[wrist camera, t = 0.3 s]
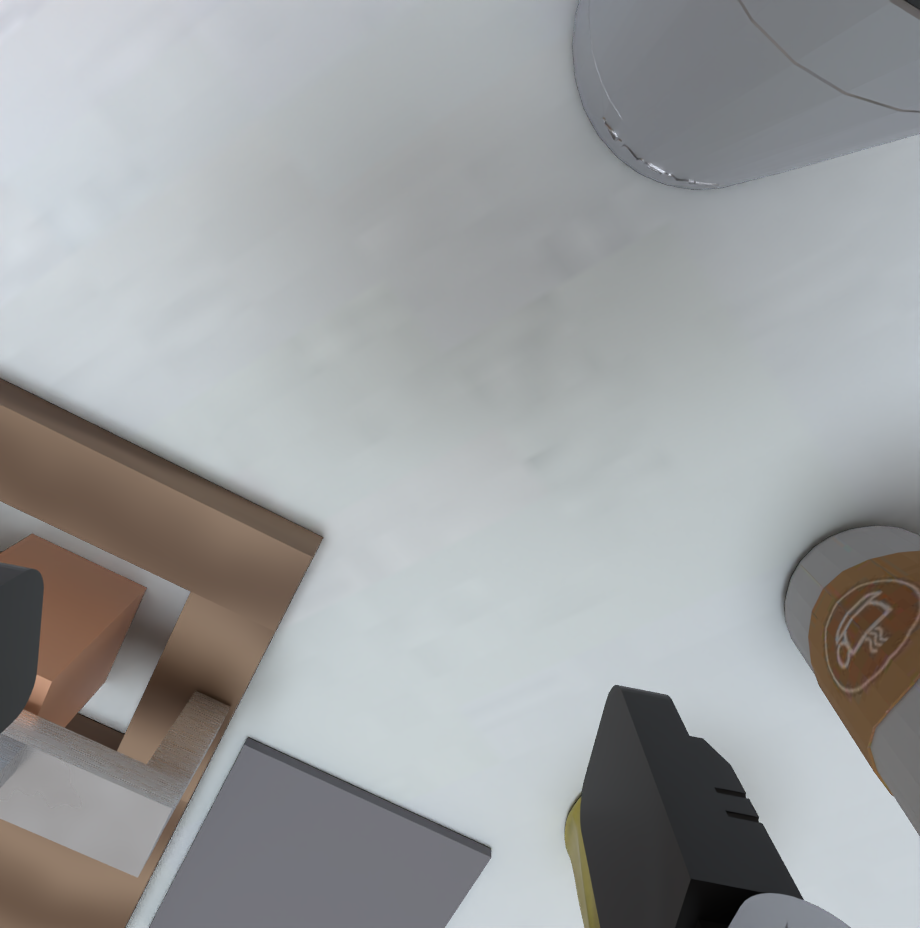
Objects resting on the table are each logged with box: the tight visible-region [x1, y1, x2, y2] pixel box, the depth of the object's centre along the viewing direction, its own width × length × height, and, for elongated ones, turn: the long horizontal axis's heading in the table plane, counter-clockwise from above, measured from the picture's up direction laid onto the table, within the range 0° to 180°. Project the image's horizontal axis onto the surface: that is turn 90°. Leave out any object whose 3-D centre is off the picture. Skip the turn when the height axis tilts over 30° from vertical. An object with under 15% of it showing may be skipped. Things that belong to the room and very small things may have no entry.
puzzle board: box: [0, 379, 323, 928], centre depth 31 cm, size 28×16×2 cm, turn 152°
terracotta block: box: [0, 534, 146, 728], centre depth 28 cm, size 5×5×7 cm
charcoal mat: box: [149, 738, 491, 928], centre depth 34 cm, size 12×12×1 cm
